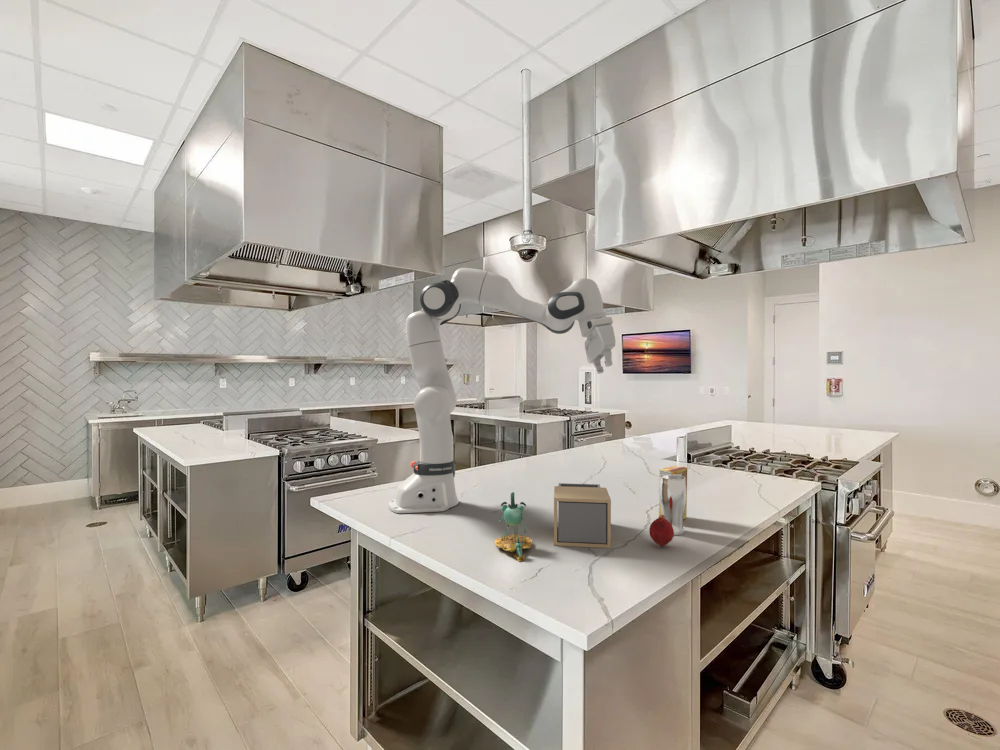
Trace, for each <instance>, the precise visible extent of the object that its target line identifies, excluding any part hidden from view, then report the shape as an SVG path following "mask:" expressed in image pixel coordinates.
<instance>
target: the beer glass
mask: <svg viewBox="0 0 1000 750" xmlns="http://www.w3.org/2000/svg"><path fill="white" fill-rule="evenodd" d="M659 475H660V474H659ZM658 486H659V487H658V500H659V499H660V506H661V511H662V514H663V515H664V516H665V517H664V518H665V519H666V520H667V521H669V522H670V524H671V525H672V527H673V530H674V536H681V535H684V533H685V529H684V522H683V521H684V519H683V512H684V507H685V501H686V483H685V477H684V476H680V475H674V474H663V475H660V482H659V481H658Z"/></svg>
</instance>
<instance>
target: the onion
mask: <svg viewBox="0 0 1000 750" xmlns="http://www.w3.org/2000/svg"><path fill="white" fill-rule="evenodd" d="M664 517H665V516H664V515H663V514H661V515H660V516H659V515H658V517H657V518H656V519H654V520H653V521H652V522H651V524H650V525H649V531H648V532H649V537H650V539H651V540H652V541H653V542H654V543H655V544H656V545H657V546H659V547H665V546H666V545H668V544H670V542H672V540H673V538H674V537H675V535H674V530H673V527H672V525H671V524H670V522H669V521H667V520H666V519H665V518H664Z"/></svg>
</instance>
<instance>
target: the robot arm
mask: <svg viewBox="0 0 1000 750" xmlns="http://www.w3.org/2000/svg"><path fill="white" fill-rule="evenodd" d="M419 302H420V307H421V309H420V310H418V311H414V312H412V313H410V314H409V315H408V316H407V317H406V319H405V336H406V345H407V348H408V355H409V360H410V364H411V369H412V372H413V374H414V375H415V377H416V381H417V383H418V386H419V388H420V390H419V391H418V392H417V394H416V396H415V397H414V399H413V409H414V412H415V417H416V418H415V419H416V423H417V429H418V437H419V461H413V460H412V461H411V462H410V467H411V468H412V469H413V470H412V471H413V473H412V474H411V475H409V477H406V479H405V480H404V481H402V482H401V483H400V484H399V485H398V487H397V489H396V493H395V498H392V499H390V500H389V502H388V508H389V510H390V511H391V512H393V513H396V514H412V513H413V514H414V513H433V512H434V513H435V512H437V513H438V512H445V511H447V510H449V509H450V508H453V507H456V506H457V505H458V504H459V500H458V499H459V498H458V495H457V491H456V485H455V477H456V475H455V474H456V464H455V462H456V461H455V460H454V434H453V431H452V421H451V413H453V412H454V411H455V409H456V406H457V396H456V392H455V389H454V385H453V382H452V379H451V376H450V375H451V374H450V372H449V370H448V367H447V366H448V365H447V363H446V358H445V353H444V347H443V344H442V339H441V335H440V326H442V325H444V324H446V323H448V322H449V321H451V320H453V319H454V318H456V317H457V316H458V314H460V311H461V308H462V307H461V306H462V305H461V304H463V303H472V304H476V305H480V306H483V307H485V308H486V307H487V308H491V309H495V310H499V311H502V312H505V313H509V314H512V315H515V316H517V317H519V318H521V319H522V318H523V319H526V320H528V321H532V322H534V323H537V324H540V325H542V326H543V327H544V328H546V329H547V330H548V331H550V332H551V333H553V334H556V335H557V334H558V335H561V334H565V333H568V332H569V331H570V330H572V328H573V327H574V325H575V321H578V325H579V328H580V329H579V330H580V333H581V337H583V338H586V340H585V342H584V351H585V354H586V360H587V362H588V363H589V364H593V366H594V368H595V370H596V373H597V374H603V373H604V367H603V366H602V361H601V360H602V359H603V358H604V364H605V367H607V368H608V367H611V366H613V359H612V349H614V348H615V346H616V336H615V331H614V327H613V324H614V323H613V322H614V321H613V318H612V316H607V314H606V312H605V311H604V302H603V297H602V294H601V292H600V289H599V287H598V284H597V283H596V281H594V280H593V279H591V278H579V279H576V280H574V281H573V282H572V283H571V284H570V285H569V286H568V287H567V288H565V289H563V290H562V291H560V292H556V293H554V294H552V296H551V297H550V298H549V300H548V301H547V305H545V304H542V303H539V302H536V301H533V300H530V299H528V298H525V297H523V296H522V295H520V294H519V293H518V292H517V290H516V289H515V288H514V286H513V285H512V283H511V282H510V281H509V279H508V278H507V277H504V276H502V275H500V274H499V273H498V274H497V273H496V272H495V273H494V272H492V271H487V270H484V269H480V268H479V269H477V268H470V267H460V268H457V269H456V270H455V271H454V273H453V274H452V276H451V279H450V280H448V279H445V280H441V281H438V282H433V283H429V284H428V285H426V286H425V287H424V288H423V289H422V290H421V292H420V295H419Z"/></svg>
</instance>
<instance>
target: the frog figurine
mask: <svg viewBox="0 0 1000 750" xmlns="http://www.w3.org/2000/svg"><path fill="white" fill-rule="evenodd" d="M507 504H508V505H507ZM519 504H520V506H518V503H516V502H515V492H513V491H512V492H511V493H510V503H508V502H507V501H503V502H502V503H501V504H500V507H501V510H502V511H503V515H502V517H501V518H499V520H498V522H499V523H501V522H502V520H503V521H504V522H505V524H507V526H506V529H505V533H504V534H503V536H501V537H499V538H496V539H495V540H494V541H493V542H494V545H495V546H496V547H497V548H498V549H503V550H504V551H505V552H510V553H513V552H515V554H513V555H512V557H514V558H515V559H516V560H517V561H518V562H523V561H524V560H526V559H525V557H526V554H523V549H524V550H525V549H526V550H527V549H530V548H531V547H532V544H533V539H531V538H530V537H529V536H525V535H520V534H518V525H520V524H521V522H523V530H524V533H525V534H526V532H527V531H526V526H525V524H526V523H525V520H524V518H523V516H524V515H523V512H524V511H525V507H527V504H526V503H525V502H524V501H521V502H520V503H519ZM509 526H510V527H514V529H513V530H514V531H515V533H514V534H509V535H508V531H509Z"/></svg>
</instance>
